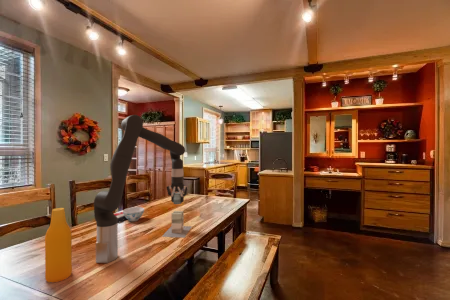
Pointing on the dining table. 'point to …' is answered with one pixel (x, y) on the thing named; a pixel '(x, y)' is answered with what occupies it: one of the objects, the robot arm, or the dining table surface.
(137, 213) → the chinaware
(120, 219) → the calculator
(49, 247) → the beer bottle
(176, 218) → the top block
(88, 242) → the dining table surface
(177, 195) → the cylinder
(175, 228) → the base block
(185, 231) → the tower board
